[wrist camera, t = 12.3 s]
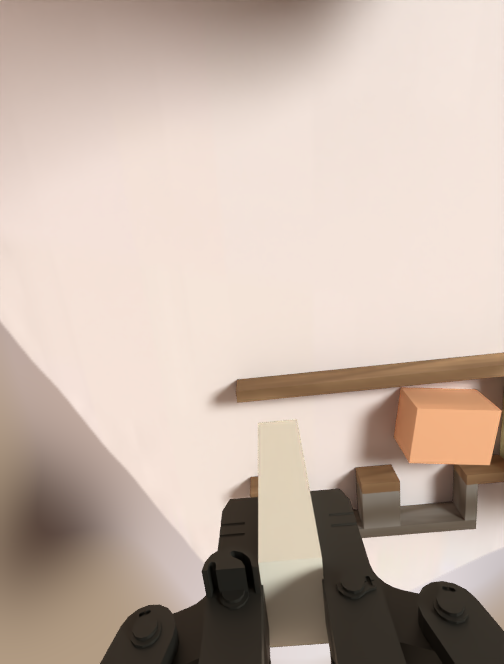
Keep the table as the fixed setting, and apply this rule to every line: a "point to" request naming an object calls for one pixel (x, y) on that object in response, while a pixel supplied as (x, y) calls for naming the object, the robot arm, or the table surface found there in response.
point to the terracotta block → (446, 426)
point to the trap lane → (381, 481)
